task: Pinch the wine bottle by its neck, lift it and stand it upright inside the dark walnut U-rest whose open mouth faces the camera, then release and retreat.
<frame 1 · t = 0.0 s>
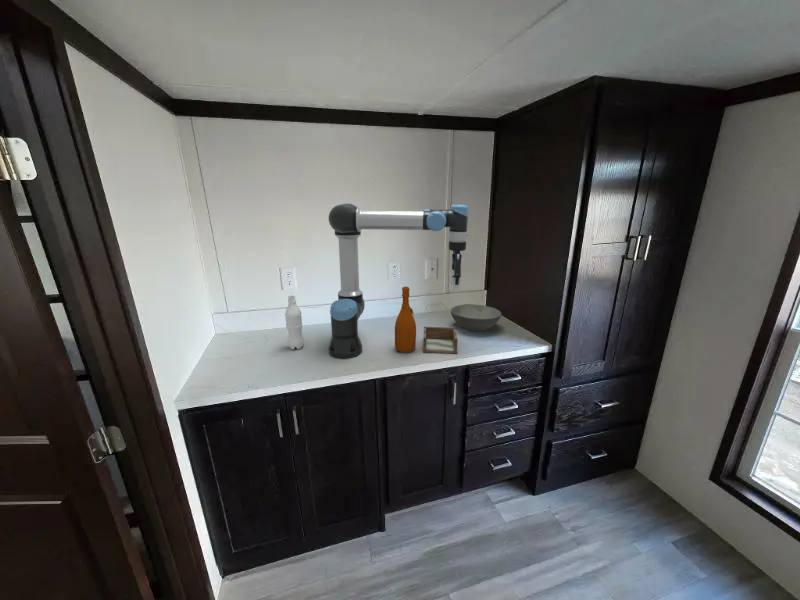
hand: (455, 287, 158), 28 cm above the worktop, fingers open, 13 cm apart
water bottle: (296, 347, 161), on the worktop
wine bottle: (405, 349, 161), on the worktop
walnut U-rest: (439, 346, 164), on the worktop
bowl: (474, 327, 186), on the worktop
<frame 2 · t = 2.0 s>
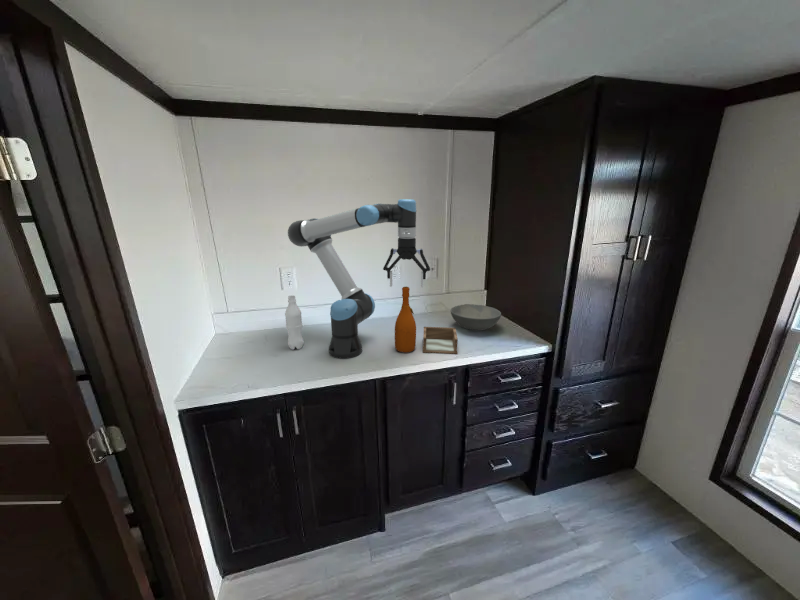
hand: (406, 286, 151), 30 cm above the worktop, fingers open, 13 cm apart
nothing on the worktop moved.
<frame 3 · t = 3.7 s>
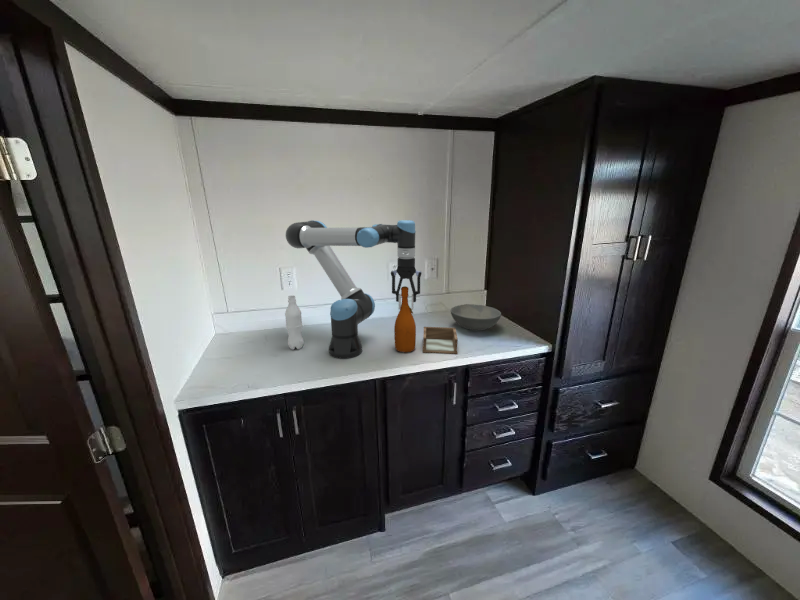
hand: (406, 308, 154), 20 cm above the worktop, fingers closed on wine bottle, 5 cm apart
wine bottle: (405, 349, 160), on the worktop, touching gripper
everything else where it was.
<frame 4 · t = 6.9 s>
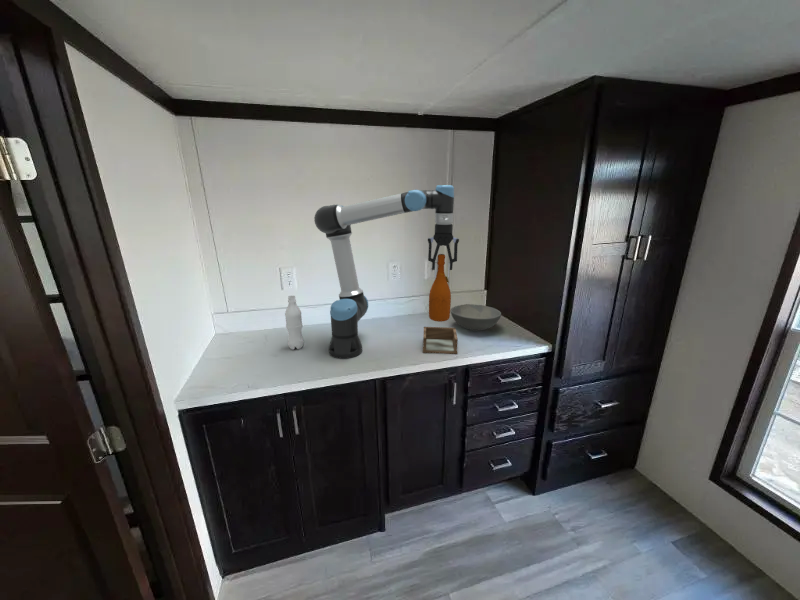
hand: (441, 276, 153), 34 cm above the worktop, fingers closed on wine bottle, 5 cm apart
wine bottle: (439, 319, 159), point 14 cm above the worktop, touching gripper
everything else where it was.
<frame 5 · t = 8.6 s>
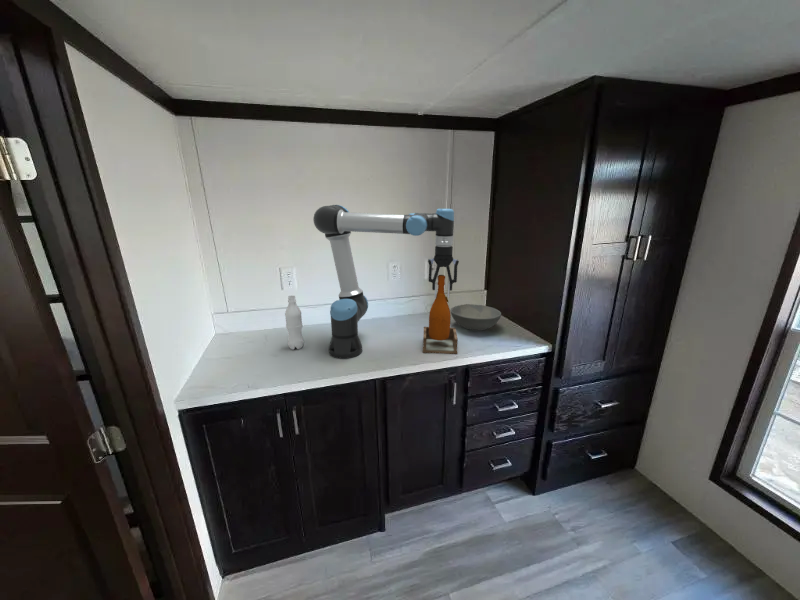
hand: (441, 296, 156), 25 cm above the worktop, fingers closed on wine bottle, 5 cm apart
wine bottle: (438, 337, 162), point 5 cm above the worktop, touching gripper
everything else where it was.
when the fingers open (22 cm above the worktop, at t = 9.9 s): wine bottle stays where it is, resting on walnut U-rest.
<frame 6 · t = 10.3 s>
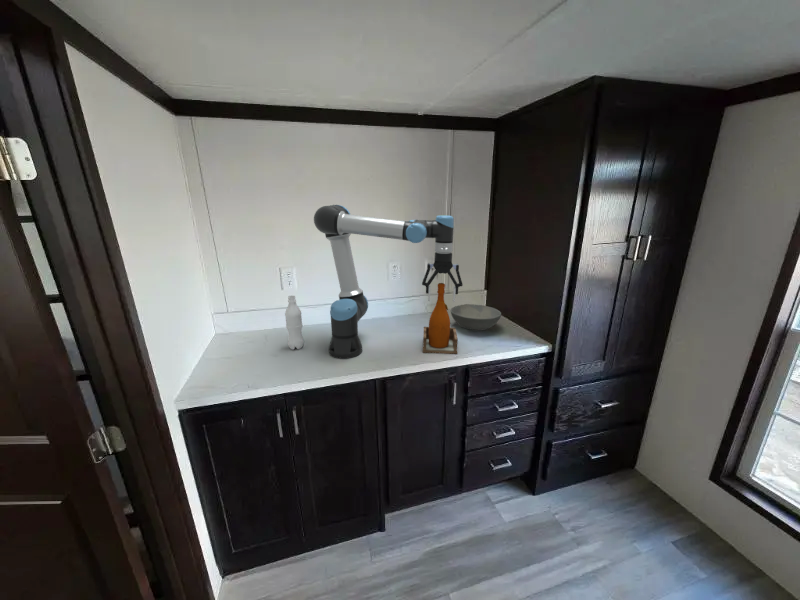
hand: (441, 300, 156), 23 cm above the worktop, fingers open, 10 cm apart
wine bottle: (438, 344, 163), point 1 cm above the worktop, touching walnut U-rest
everything else where it was.
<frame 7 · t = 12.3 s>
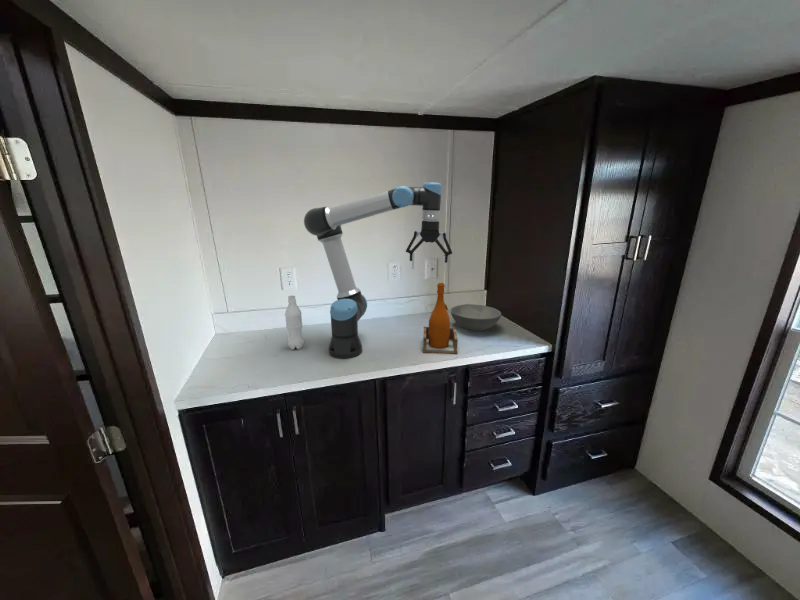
hand: (427, 269, 154), 37 cm above the worktop, fingers open, 13 cm apart
nothing on the worktop moved.
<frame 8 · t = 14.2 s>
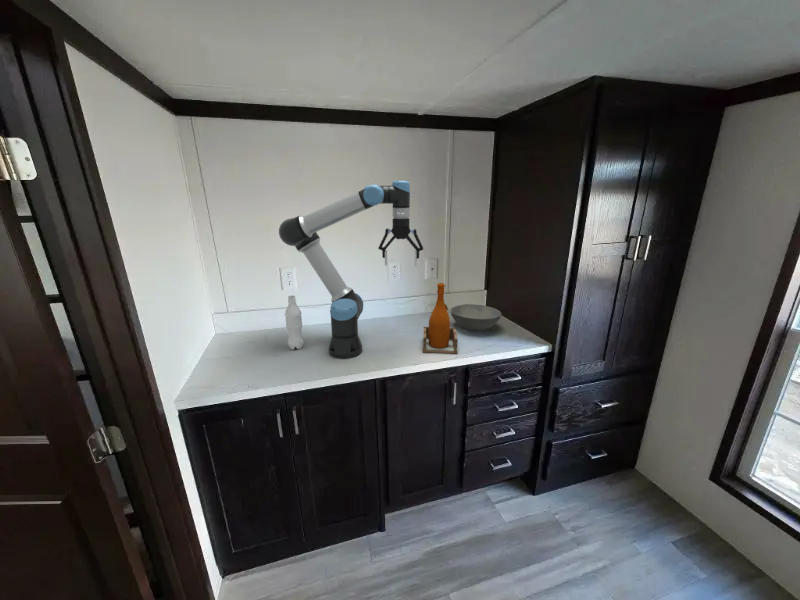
hand: (400, 265, 158), 38 cm above the worktop, fingers open, 13 cm apart
nothing on the worktop moved.
at the end: wine bottle inside the target area on the walnut U-rest (0.5 cm from its centre), point 0.8 cm above the walnut U-rest's base; wine bottle tilted 0°; the gripper is holding nothing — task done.
